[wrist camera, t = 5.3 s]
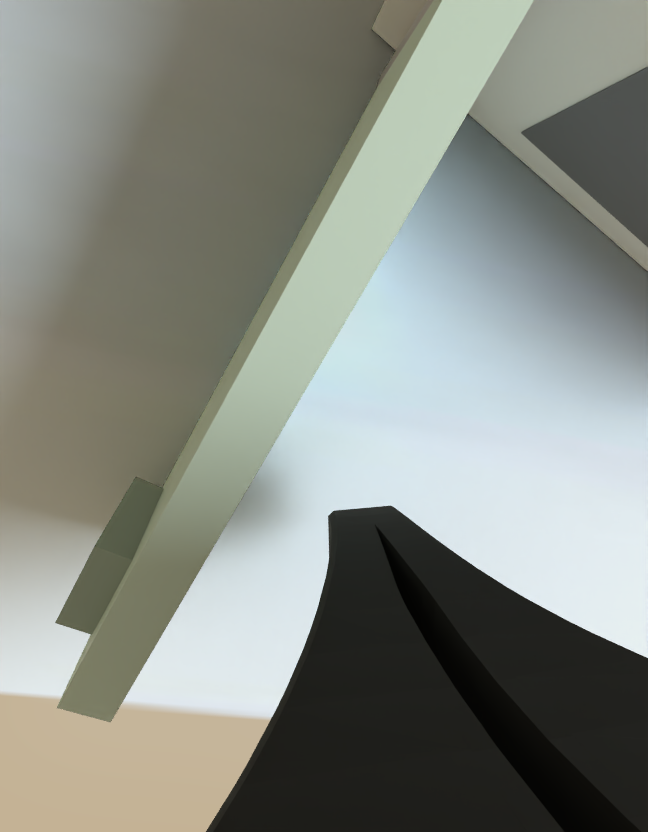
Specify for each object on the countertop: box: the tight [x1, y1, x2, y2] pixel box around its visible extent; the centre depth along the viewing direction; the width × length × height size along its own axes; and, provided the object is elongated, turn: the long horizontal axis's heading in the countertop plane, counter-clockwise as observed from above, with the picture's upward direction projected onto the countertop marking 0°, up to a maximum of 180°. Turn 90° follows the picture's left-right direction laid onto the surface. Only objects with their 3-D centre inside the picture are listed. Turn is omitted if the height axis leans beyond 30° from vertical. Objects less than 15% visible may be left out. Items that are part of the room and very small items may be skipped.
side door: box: [55, 0, 534, 722], centre depth 7 cm, size 1×11×4 cm, turn 150°
